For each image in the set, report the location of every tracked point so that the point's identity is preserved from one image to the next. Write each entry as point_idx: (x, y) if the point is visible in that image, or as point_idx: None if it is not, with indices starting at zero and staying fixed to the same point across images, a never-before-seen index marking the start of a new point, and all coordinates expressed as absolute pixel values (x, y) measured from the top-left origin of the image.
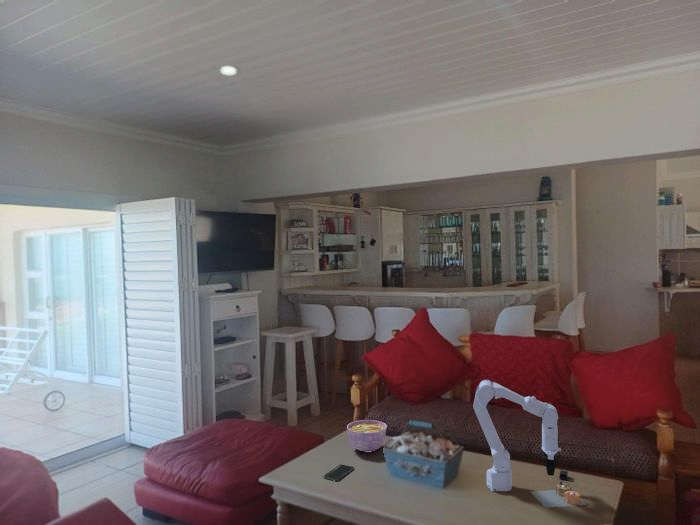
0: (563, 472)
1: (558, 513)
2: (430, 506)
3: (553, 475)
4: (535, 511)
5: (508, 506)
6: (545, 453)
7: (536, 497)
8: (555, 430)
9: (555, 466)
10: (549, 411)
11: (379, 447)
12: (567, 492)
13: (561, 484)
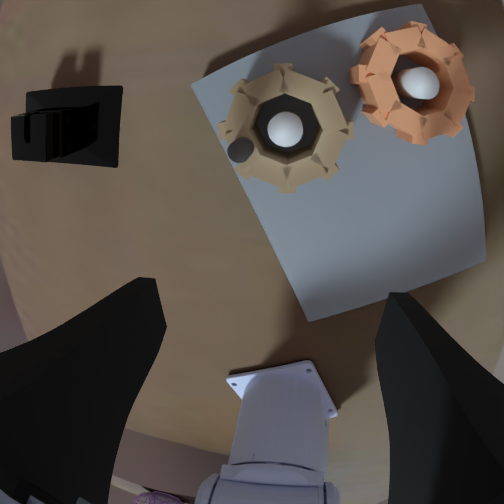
0: (31, 139)
1: (492, 189)
2: None
3: (408, 293)
4: (469, 291)
5: None
6: (103, 467)
7: (379, 296)
8: None
9: (494, 377)
10: None
11: (167, 499)
12: (407, 114)
13: (252, 144)
